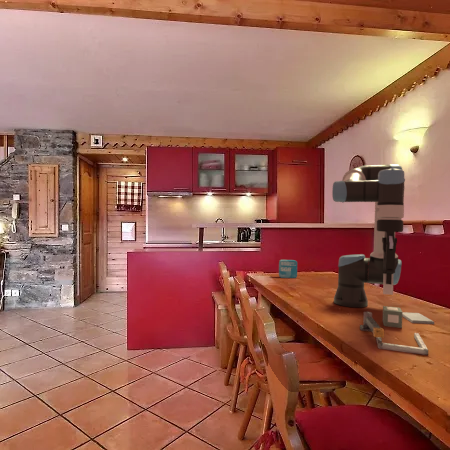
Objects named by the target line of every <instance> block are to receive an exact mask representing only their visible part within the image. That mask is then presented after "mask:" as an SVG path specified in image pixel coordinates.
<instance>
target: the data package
mask: <svg viewBox="0 0 450 450" xmlns="http://www.w3.org/2000/svg"><path fill="white" fill-rule="evenodd" d="M278 261H279V262H278V276H279V278H281V279H296V278H298V261H297V260H294V259H280V260H278Z"/></svg>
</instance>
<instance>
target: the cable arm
mask: <svg viewBox="0 0 450 450" xmlns="http://www.w3.org/2000/svg"><path fill="white" fill-rule="evenodd" d="M366 323H367V325H368V326H369V327H370V329H371V330H372V332H371V333H372V336H373V337H374V338H376V337H381V339H382V338H383V339H384V338H385V329H384V328H383V327H381V326H380V325H379V324H378V323H377V321H376V320H375V319H374V317H373V316H372V317H366Z"/></svg>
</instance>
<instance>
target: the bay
mask: <svg viewBox="0 0 450 450" xmlns="http://www.w3.org/2000/svg"><path fill="white" fill-rule="evenodd" d="M413 337H414V340H415V341H416V343H417V345H418V347H417V346H411V345H410V346H409V345H404V344H395V343H387V342H383V341H382V338H381V337H375V339H376V344H377V348H378V349H380V350H388V351H396V352H403V353H411V354H418V355H424V356H429V349H428V348H427V345H426V344H425V342H424V340H423V338H422V337H421V335H420V333H419V332H414V334H413Z"/></svg>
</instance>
